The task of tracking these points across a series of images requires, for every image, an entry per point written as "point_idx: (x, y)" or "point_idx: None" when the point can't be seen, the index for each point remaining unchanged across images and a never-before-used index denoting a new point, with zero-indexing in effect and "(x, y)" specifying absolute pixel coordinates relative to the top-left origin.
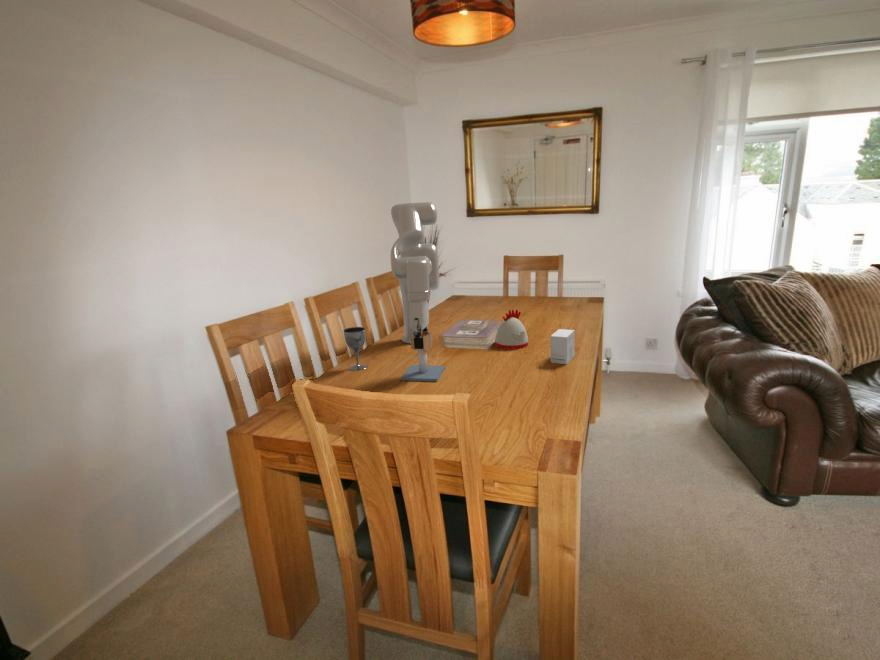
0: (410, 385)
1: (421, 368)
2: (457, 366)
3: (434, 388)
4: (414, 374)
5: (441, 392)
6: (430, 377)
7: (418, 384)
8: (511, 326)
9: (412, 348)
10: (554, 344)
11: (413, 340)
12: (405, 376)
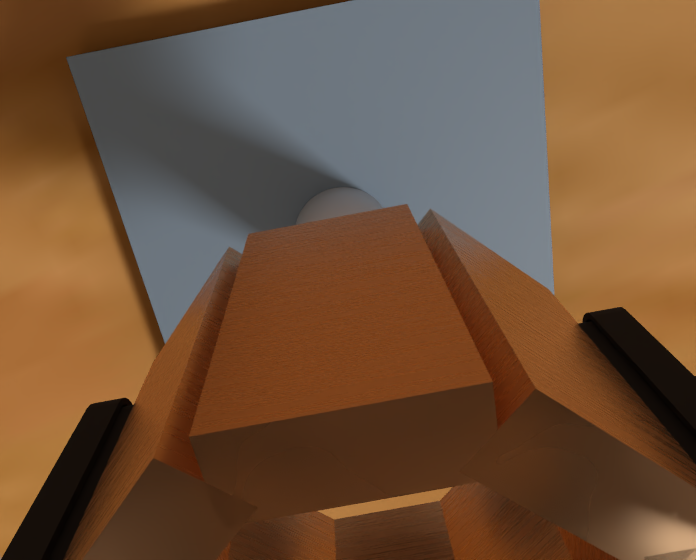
0: (4, 227)
1: None
2: None
3: (50, 452)
4: (227, 174)
5: (3, 525)
6: None
7: (66, 291)
8: None
9: (208, 281)
10: None
11: (113, 466)
12: (126, 97)
